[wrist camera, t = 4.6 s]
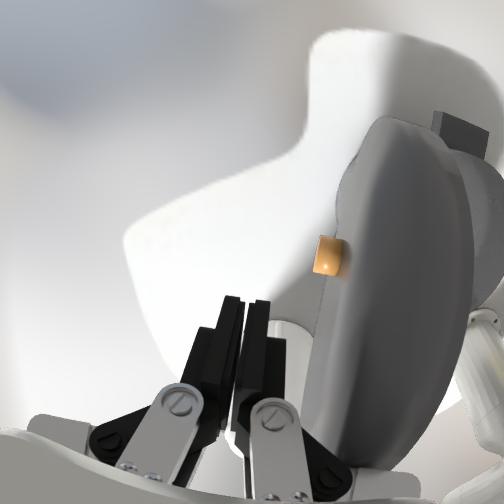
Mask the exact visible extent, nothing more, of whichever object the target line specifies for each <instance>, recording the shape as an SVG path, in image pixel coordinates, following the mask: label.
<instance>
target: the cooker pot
mask: <svg viewBox="0 0 504 504" xmlns="http://www.w3.org/2000/svg"><path fill="white" fill-rule="evenodd" d="M431 130H432V131H433V132H435V133H436V134H437V135H438V136H439V137H440V138H441V139H442V140H443V141H444V142H445V144H446V145H447V147H448V148H449V150H450V151H451V153H452V154H453V156H454V159H455V161H456V163H457V165H458V168H459V170H460V173H461V175H462V178H463V181H464V185H465V189H466V193H467V197H468V201H469V205H470V210H471V218H472V227H473V238H474V278H473V293H472V302H471V308H470V313H471V312H473V311H474V310H475V309H477V308H478V307H479V306H480V305H481V304H482V303H483V302H484V301H485V300H486V299H487V298H488V297H489V296H490V295H491V294H492V292H493V291H494V290H495V288H496V287H497V286H498V284H499V283H500V281H501V279H502V278H503V276H504V179H503V178H502V176H501V175H500V174H499V173H498V172H497V171H496V170H495V168H493V167H492V166H491V165H490V164H488V163H487V162H486V161H484V157H485V152H486V147H487V141H488V136H489V132H488V131H486V130H484V129H481V128H479V127H477V126H475V125H473V124H470V123H468V122H466V121H464V120H461V119H459V118H457V117H454V116H452V115H449V114H447V113H444V112H437V111H434V116H433V122H432V128H431ZM357 156H358V155H357ZM357 156H356V157H355V158H354V159H353V161H352V162H351V163H350V165H349V166H348V168H347V169H346V171H345V173H344V175H343V177H342V179H341V182H340V184H339V188H338V191H337V197H336V220H337V224H339V220H340V216H341V212H342V208H343V204H344V200H345V196H346V193H347V189H348V185H349V182H350V178H351V175H352V172H353V168H354V165H355V162H356V159H357ZM470 313H469V314H470Z"/></svg>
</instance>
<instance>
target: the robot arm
mask: <svg viewBox="0 0 504 504" xmlns="http://www.w3.org/2000/svg"><path fill="white" fill-rule="evenodd" d="M244 311H245V302H242V301H240V297H234V296H227V295H226V296H225V298H224V301H223V305H222V308H221V311H220V315H219V318H218V322H217V325H216V328H215V329H212V328H206V327H201V326H200V327H199V329H198V332H197V335H196V337H195V340H194V343H193V346H192V349H191V352H190V354H189V357H188V360H187V363H186V366H185V369H184V372H183V375H182V377H181V380H180V383H174V384H170V385H168V386H166V387H164V388H163V389H162V390H161V391H160V392H159V393H158V395H157V396H156V398H155V400H154V401H153V403H152V405H149V406H147V407H145V408H142V409H140V410H137V411H135V412H132V413H130V414H127V415H125V416H122V417H120V418H117V419H114V420H112V421H109V422H107V423H104V424H101V425H99V426H92V425H91V424H90V423H85V422H80V421H75V420H70V419H64V418H60V417H55V416H51V415H46V414H39V415H36V416H34V417H33V418H32V419H31V420H30V422H29V424H28V427H27V431H25V430H20V429H14V428H0V504H440V503H437V502H434V501H431V500H426V499H420V492H421V486H420V482H419V480H418V478H417V477H416V476H414V475H413V474H410V473H405V472H394V471H385V470H376V469H369V468H362V467H358V468H357V469H355V468H349V467H348V466H347V465H346V464H345V463H343V462H342V461H341V460H340V459H338V458H337V457H336V456H335V455H334V454H332V453H331V452H330V451H329V450H328V449H326V448H325V447H324V446H323V445H322V444H321V443H319V442H318V441H317V440H316V439H315V438H314V437H312V436H311V435H310V434H309V433H308V432H307V431H306V430H305V429H303V428H302V427H301V424H300V418H299V414H298V411H297V409H296V408H295V407H294V406H293V405H292V404H291V403H289V402H288V401H286V400H285V376H286V339H284V338H276V337H267V334H268V323H269V312H270V301H263V300H256V302H255V303H249V308H248V314H247V319H246V325H245V330H244V336H243V341H242V347H241V340H242V331H243V321H244ZM500 329H501V322H500V319H499V317H498V315H497V314H496V313H495V312H494V311H492V310H490V309H479V310H476V311H473V312H471V313H470V314H469V319H468V324H467V329H466V333H465V338H464V342H463V346H462V350H461V353H460V356H459V359H458V362H457V365H456V368H455V370H454V373H453V375H454V378H455V380H456V383H457V385H458V388H459V390H460V393H461V396H462V398H463V401H464V404H465V406H466V409H467V412H468V415H469V418H470V421H471V424H472V427H473V430H474V433H475V437H476V439H477V442H478V443H479V445H480V446H481V447H482V448H483V449H485V450H487V451H489V452H492V453H496V454H499V455H501V456H502V460H501V461H500V462H499V463H497V464H496V465H494V466H493V467H492V468H490V469H489V470H487V471H485V472H484V473H482V474H480V475H479V476H477V477H475V478H473V479H471V480H469V481H468V482H466V483H464V484H462V485H460V486H458V487H457V488H455V489H453V490H452V491H450V492H449V493H448V494H447V495H446V496H445V497H444V499H443V500H442V503H441V504H504V341H503V339H502V337H501V336H500V334H499V333H500ZM240 350H241V352H240ZM234 385H235V386H234ZM233 390H234V394H233ZM232 395H233V405H232V416H231V428H230V431H232V432H236V433H235V441H234V445H235V446H236V447H237V448H238V449H239V450H240V451H241V452H242V453H243V477H244V498H237V497H230V496H223V495H217V494H211V493H206V492H200V491H196V490H191V489H189V486H190V484H191V482H192V480H193V477H194V475H195V473H196V470H197V468H198V466H199V463H200V461H201V459H202V456H203V454H204V452H205V449H206V446H208V445H210V444H212V443H213V442H215V441H216V438H217V437H219V433H220V430H226V427H227V422H228V417H229V411H230V406H231V401H232Z"/></svg>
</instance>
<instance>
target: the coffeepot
mask: <svg viewBox="0 0 504 504" xmlns="http://www.w3.org/2000/svg"><path fill="white" fill-rule="evenodd" d="M243 336H244V333H243V334H242V340H241V347H242V341H243ZM267 337H276V338H284V339H286V376H285V400H286V401H288V402H289V403H291V404H292V405H293V406H294V407H295V408H296V409H297V411H298V414H299V418H300V414H301V407H302V400H303V394H304V387H305V382H306V376H307V370H308V365H309V359H310V354H311V349H312V344H313V338H312V336H311V335H310V334H309V332H307V331H306V330H305V329H304V328H302V327H301V326H299V325H296V324H294V323H291V322H287V321H281V320H271V321H269V323H268V334H267ZM240 352H241V350H240ZM234 386H235V385H234ZM233 394H234V390H233ZM232 405H233V395H232V401H231V406H230V414H229V422H228V426H227V427H226V430H225V438H226V440H227V441H228V443H229V445H230V447H231V449H232V451H233V452H234V453H236V454H237V455H238V456H240V457H242V458H243V453H242V452H241V451H240V450H239V449H238V448H237V447H236V446H235V445H234V441H235V433H236V432H232V431H230V428H231V416H232Z"/></svg>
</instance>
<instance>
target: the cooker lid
mask: <svg viewBox="0 0 504 504" xmlns="http://www.w3.org/2000/svg"><path fill="white" fill-rule="evenodd" d="M313 272H315V273H320V274H325V275H327V276H326V281H325V285H324V290H323V295H322V299H321V304H320V309H319V314H318V319H317V324H316V329H315V333H314V339H313V344H312V349H311V354H310V359H309V365H308V370H307V376H306V382H305V387H304V394H303V400H302V407H301V414H300V424H301V427H302V428H303V429H305V430H306V431H307V432H308V433H309V434H310V435H311V436H312V437H314V438H315V439H316V440H317V441H318V442H319V443H321V444H322V445H323V446H324V447H325V448H326V449H328V450H329V451H330V452H331V453H332V454H334V455H335V456H336V457H337V458H338V459H340V460H341V461H342V462H343V463H345V464H346V465H347V466H348V467H349V468H355V469H357V468H358V467H362V468H369V469H376V470H385V471H391V470H392V469H393V468H394V467H395V466H396V465H397V464H398V463H399V462H400V461H401V460H402V459H403V458H404V457H405V456H406V455H407V454H408V453H409V451H410V450H411V449H412V448H413V446H414V445H415V444H416V442H417V441H418V440H419V438H420V437H421V436H422V434H423V433H424V432H425V430H426V428H427V427H428V425H429V423H430V422H431V420H432V418H433V416H434V415H435V413H436V411H437V409H438V407H439V405H440V403H441V402H442V400H443V398H444V396H445V394H446V391H447V389H448V386H449V384H450V381H451V378H452V376H453V373H454V370H455V368H456V365H457V362H458V359H459V356H460V353H461V350H462V346H463V342H464V338H465V333H466V329H467V324H468V319H469V313H470V308H471V302H472V293H473V278H474V238H473V227H472V218H471V210H470V205H469V201H468V197H467V193H466V189H465V185H464V181H463V178H462V175H461V173H460V170H459V168H458V165H457V163H456V161H455V159H454V156H453V154H452V153H451V151H450V150H449V148H448V147H447V145H446V144H445V142H444V141H443V140H442V139H441V138H440V137H439V136H438V135H437V134H436V133H435V132H433V131H432V130H429V129H427V128H424V127H421V126H418V125H415V124H412V123H409V122H405V121H402V120H398V119H395V118H391V117H388V116H383V117H380V118H379V119H377V120H376V121H375V122H374V123H373V125H372V126H371V127H370V129H369V131H368V133H367V135H366V137H365V139H364V141H363V143H362V146H361V148H360V151H359V154H358V156H357V159H356V162H355V165H354V168H353V172H352V175H351V178H350V182H349V185H348V189H347V193H346V196H345V200H344V204H343V208H342V212H341V216H340V220H339V224H338V228H337V232H336V237H335V238H333V237H328V236H323V235H320V238H319V242H318V246H317V251H316V256H315V261H314V267H313Z"/></svg>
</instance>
